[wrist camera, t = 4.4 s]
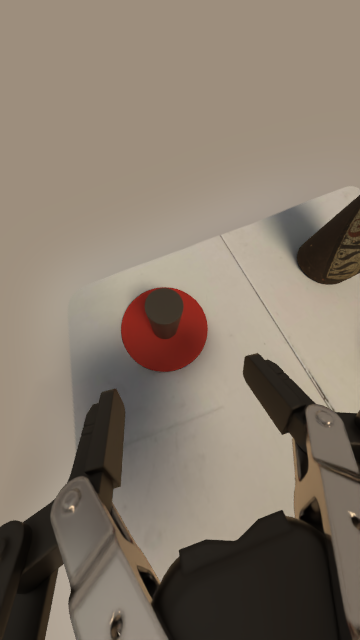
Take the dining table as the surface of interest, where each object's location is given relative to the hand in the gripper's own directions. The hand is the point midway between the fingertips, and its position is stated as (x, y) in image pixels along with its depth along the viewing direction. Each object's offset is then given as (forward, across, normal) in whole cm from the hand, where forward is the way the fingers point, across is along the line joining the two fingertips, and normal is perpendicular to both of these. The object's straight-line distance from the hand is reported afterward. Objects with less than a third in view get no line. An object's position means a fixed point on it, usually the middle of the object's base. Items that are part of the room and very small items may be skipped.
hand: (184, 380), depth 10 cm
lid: (+12, 0, +4) cm, 12 cm away
